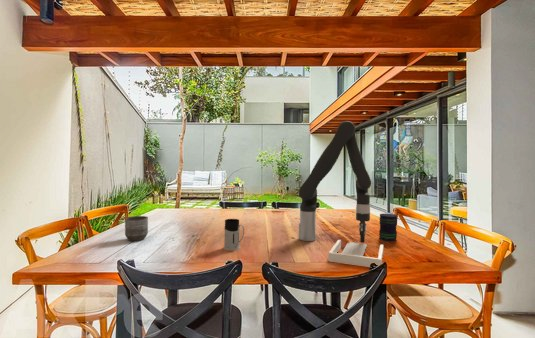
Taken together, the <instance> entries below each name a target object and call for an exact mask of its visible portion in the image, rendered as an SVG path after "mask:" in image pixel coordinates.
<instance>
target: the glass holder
mask: <svg viewBox="0 0 535 338" xmlns="http://www.w3.org/2000/svg"><path fill="white" fill-rule="evenodd" d="M240 227H242V236H241V238H240ZM244 235H245V227H244V225H243V224H240V219H239V218H227V219H225V220H224V241H223V242H224V245H223V250H224V251H228V252H229V251H230V252H233V251H238V250H240V249H241V246H240V243H241V242H242V241H243V238H244Z"/></svg>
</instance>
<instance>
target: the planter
mask: <svg viewBox="0 0 535 338" xmlns="http://www.w3.org/2000/svg"><path fill="white" fill-rule="evenodd" d="M148 225H149V216H146V215H136V216H135V215H134V216H128V217H126V218H124V236H125V237H126V238H127V240H128V241H129V242H141V241H144V240H145V239H146V237H147V235H148V232H149V226H148Z"/></svg>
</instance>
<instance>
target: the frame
mask: <svg viewBox="0 0 535 338" xmlns="http://www.w3.org/2000/svg"><path fill="white" fill-rule="evenodd" d="M341 247H342V239H337V241H336V242H335V243H334V244H333V246H332V247H331V249H330V250H329V251H328V260H327V261H328V262H332V263H337V264H346V265H353V266H359V267H367V268H371V267H370V264H371V263H375V264H376V265H379V264H381V263H382V264H383V259H382V258H383V257H384V244H380V245H379V250H378V256H377V257H371V256H364V255H363V256H357V255H349V254H342V252H339V251H340V250H341ZM339 249H340V250H339ZM337 252H338V253H337Z"/></svg>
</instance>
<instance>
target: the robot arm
mask: <svg viewBox="0 0 535 338" xmlns="http://www.w3.org/2000/svg"><path fill="white" fill-rule="evenodd" d="M345 146H346V151H347V154H348V159H349V162H350V166H351V169H352V172H353V174H354V175H355V177H356V180H355V190H356V191H355V192H356V204H355V205H356V206H355V220H356V221H359V223H358V227H359V228H358V230H359V231H358V232H359V236H360V239H359V243H363V244H365V243H366V241H365V240H366V232H367V225H368V223H367V222H370V220H371V207H370V206H371V205H370V204H371V203H370V202H371V201H370V200H371V198H370V194H369V189H370V188H371V186H372V180H371V177H370V175H369V173H368V171H367V169H366V166H365V163H364V159H363V156H362V153H361V150H360V148H359V146H358V142H357V137H356V126H355V125H354V123H353V122H352V121H349V120H345V121H341V123H340V124H339V125H338V127H337V130H336V132H335V134H334V136H333V137H332V140H331V141H330V142H329V144H328V145H327V146H326V148H324V150H323V152H322V153H321V154H320V157H319V158H318V159H317V161H316V163H315V165H314V167H313V168H312V170H311V172H310V174H309V176H308V177H307V178H306V180H305V181H304V182H303V183H302V185H301V186H300V187H299V189H298V195H299V197H300V198H301V204H300V207H299V223H298V240H300V241H304V242H314V241H316V223H317V222H316V217H317V215H316V214H317V213H316V211H317V204H318V190H317V188H318V186H319V184H320V183H321V181H322V180H324V179H325V177H326V176H327V175H328V174H329V173H330V172H331V170H332V169H333V167H334V166H335V164H336V162H337V161H338V159H339V157H340V155H341V153H342V150H343V149H344V147H345Z"/></svg>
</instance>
